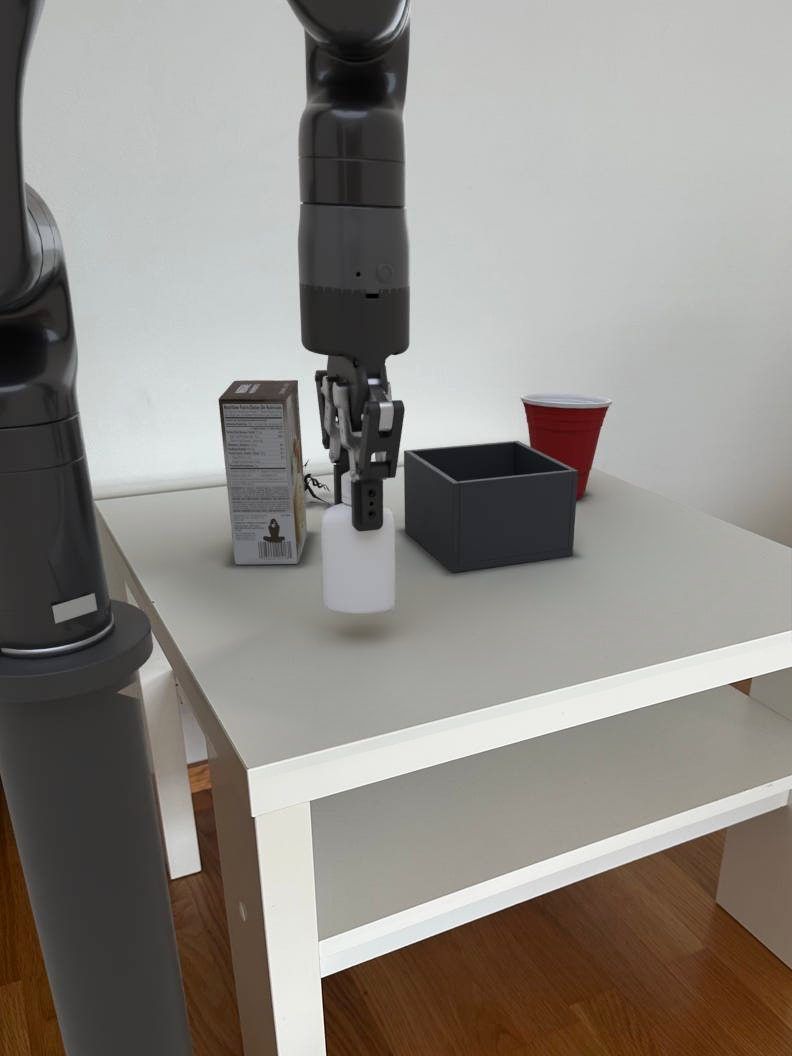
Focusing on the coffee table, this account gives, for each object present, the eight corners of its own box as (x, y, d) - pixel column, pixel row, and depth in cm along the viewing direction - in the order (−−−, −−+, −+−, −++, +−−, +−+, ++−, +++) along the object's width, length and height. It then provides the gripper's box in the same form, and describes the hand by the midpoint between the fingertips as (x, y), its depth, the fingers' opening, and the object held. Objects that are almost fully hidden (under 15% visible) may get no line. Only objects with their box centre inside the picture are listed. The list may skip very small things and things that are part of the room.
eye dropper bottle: (344, 591, 77) (341, 446, 72) (404, 604, 75) (405, 456, 70) (314, 609, 73) (308, 457, 68) (376, 623, 71) (375, 468, 66)
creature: (307, 497, 114) (250, 495, 109) (313, 453, 113) (255, 449, 107) (345, 513, 109) (287, 511, 104) (352, 467, 108) (293, 462, 102)
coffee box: (247, 534, 98) (232, 378, 91) (308, 534, 99) (299, 379, 92) (233, 566, 90) (216, 396, 83) (300, 565, 91) (289, 397, 84)
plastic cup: (607, 485, 118) (615, 389, 113) (602, 510, 109) (610, 406, 104) (522, 479, 120) (526, 384, 115) (509, 503, 110) (513, 400, 105)
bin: (452, 573, 90) (453, 483, 86) (404, 531, 100) (403, 450, 97) (572, 555, 95) (578, 470, 91) (514, 518, 106) (517, 440, 102)
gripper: (275, 269, 68) (286, 498, 75) (330, 288, 57) (337, 556, 64) (374, 271, 71) (375, 490, 78) (445, 289, 59) (439, 545, 67)
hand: (358, 519), depth 71 cm, fingers closed on eye dropper bottle, 4 cm apart
